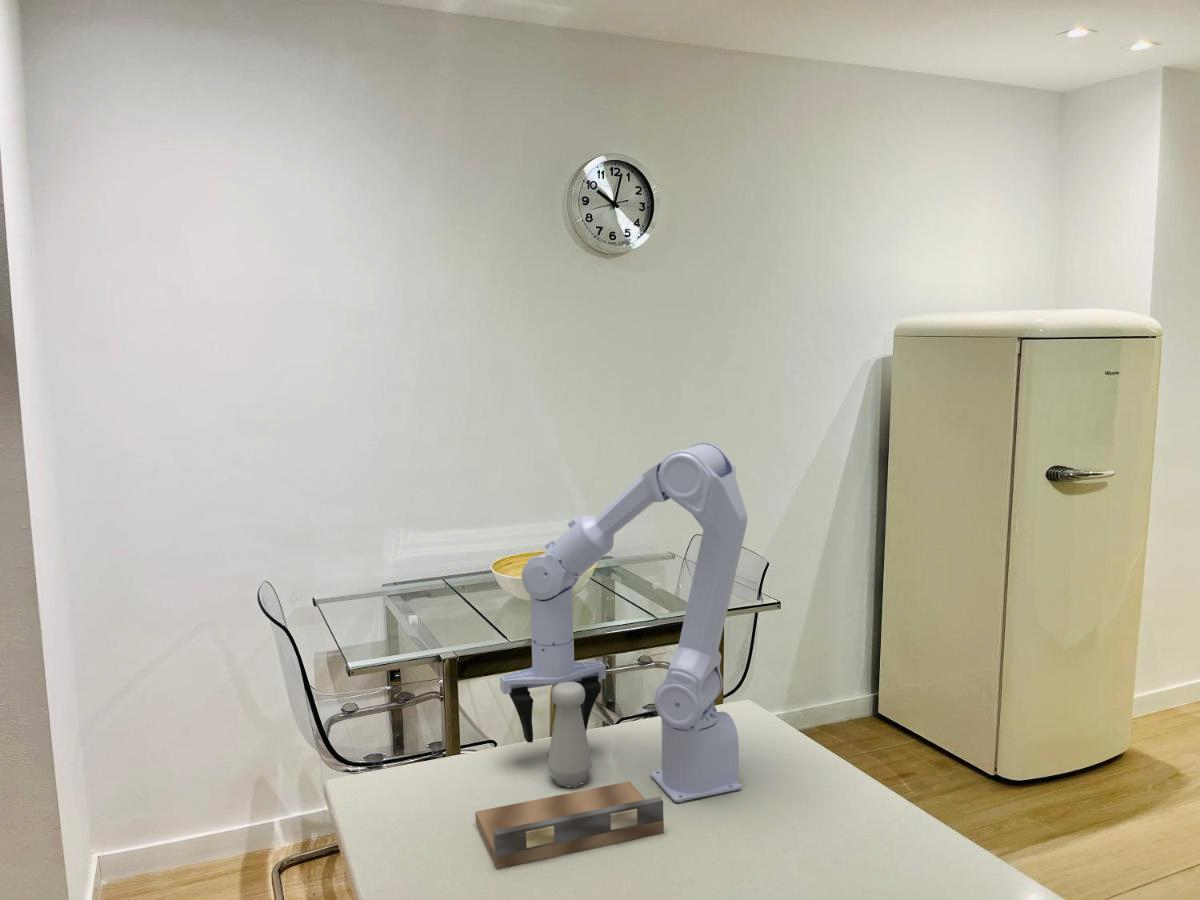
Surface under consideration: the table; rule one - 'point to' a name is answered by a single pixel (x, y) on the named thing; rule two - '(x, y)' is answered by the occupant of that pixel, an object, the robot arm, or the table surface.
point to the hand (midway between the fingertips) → (555, 734)
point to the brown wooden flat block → (568, 823)
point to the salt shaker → (569, 737)
